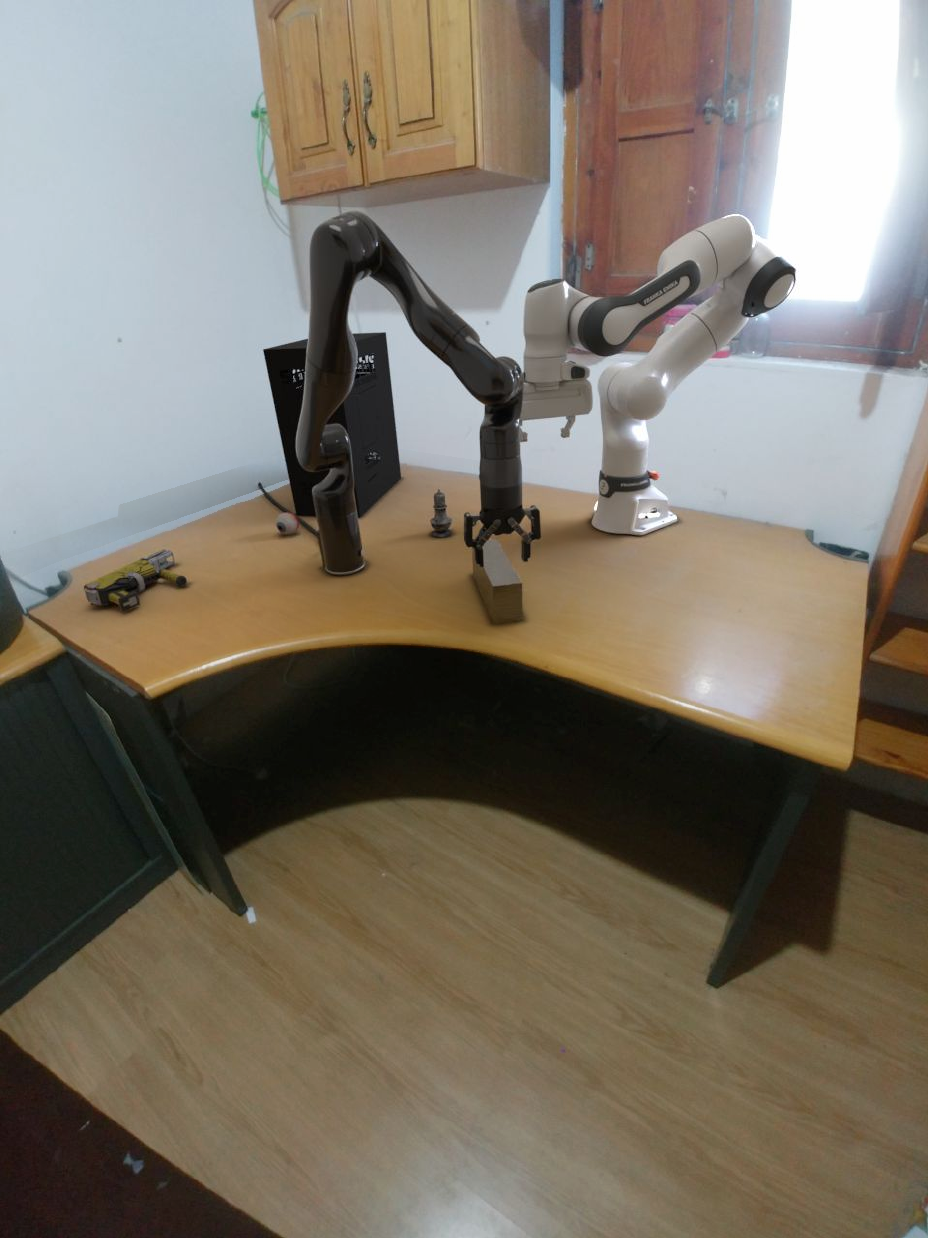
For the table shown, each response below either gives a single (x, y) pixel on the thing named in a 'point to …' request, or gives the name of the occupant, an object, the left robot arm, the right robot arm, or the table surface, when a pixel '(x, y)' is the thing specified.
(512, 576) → the bar
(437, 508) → the salt shaker
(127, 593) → the toy gun
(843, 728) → the table surface
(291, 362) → the cardboard box
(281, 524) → the eyeball
